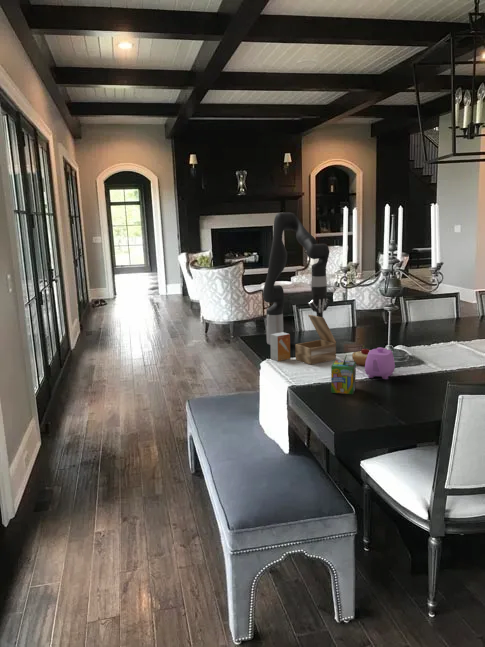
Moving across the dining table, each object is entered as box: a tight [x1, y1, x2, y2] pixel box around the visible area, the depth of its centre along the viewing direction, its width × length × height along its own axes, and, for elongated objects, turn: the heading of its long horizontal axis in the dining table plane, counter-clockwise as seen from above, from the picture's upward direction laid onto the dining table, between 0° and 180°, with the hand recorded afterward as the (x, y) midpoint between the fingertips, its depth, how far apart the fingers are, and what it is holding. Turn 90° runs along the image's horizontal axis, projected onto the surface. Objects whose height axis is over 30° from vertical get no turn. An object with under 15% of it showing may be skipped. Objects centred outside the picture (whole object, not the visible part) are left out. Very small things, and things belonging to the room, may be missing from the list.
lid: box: [308, 314, 337, 344], centre depth 263 cm, size 12×16×1 cm
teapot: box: [364, 346, 396, 380], centre depth 232 cm, size 20×12×13 cm, turn 153°
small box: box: [269, 331, 291, 362], centre depth 267 cm, size 8×6×13 cm
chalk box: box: [330, 354, 357, 395], centre depth 214 cm, size 9×9×15 cm
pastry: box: [351, 345, 371, 367], centre depth 253 cm, size 12×12×9 cm
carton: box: [294, 339, 337, 365], centre depth 263 cm, size 12×16×8 cm
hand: (319, 319), depth 262 cm, fingers closed
